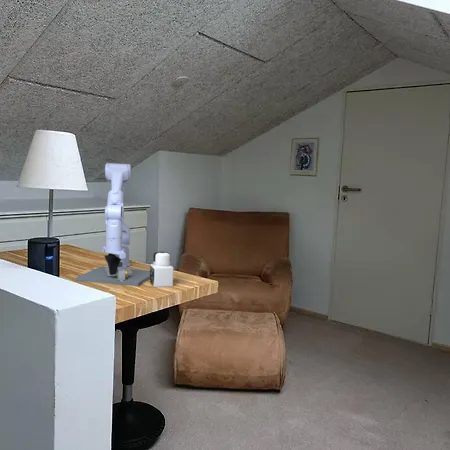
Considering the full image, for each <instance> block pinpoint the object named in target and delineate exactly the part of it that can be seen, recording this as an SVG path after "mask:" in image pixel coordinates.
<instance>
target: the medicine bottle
mask: <svg viewBox="0 0 450 450" xmlns="http://www.w3.org/2000/svg"><path fill="white" fill-rule="evenodd" d="M152 258H153V263H151V264H150V265H149V271H150V279H149V283H150V285H151V286H152V287H153V288H166V287H167V288H169V287H173V286H174V267H173V265H171V254H170V252H168V251H156V252H154V253H153V257H152Z"/></svg>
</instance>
